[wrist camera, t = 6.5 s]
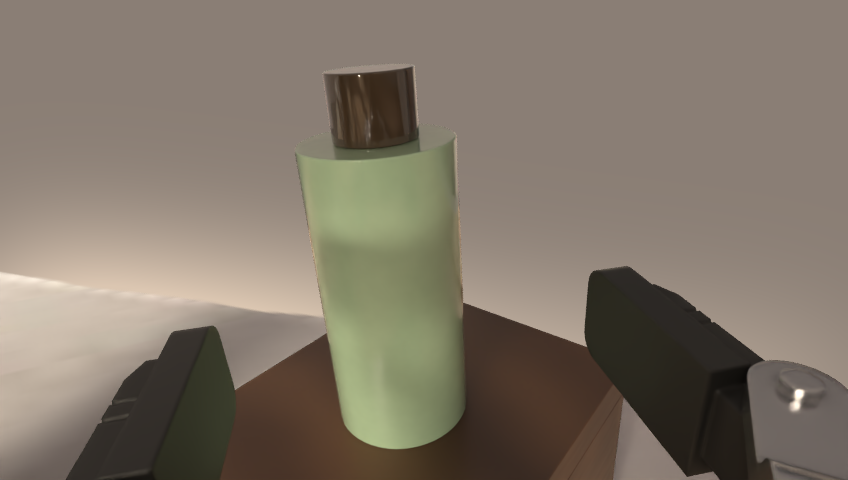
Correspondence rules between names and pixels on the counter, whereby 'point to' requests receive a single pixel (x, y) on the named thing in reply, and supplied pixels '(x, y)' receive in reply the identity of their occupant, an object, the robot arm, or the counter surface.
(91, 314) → the counter surface
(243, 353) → the counter surface
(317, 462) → the shelf
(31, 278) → the counter surface
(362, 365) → the bottle
